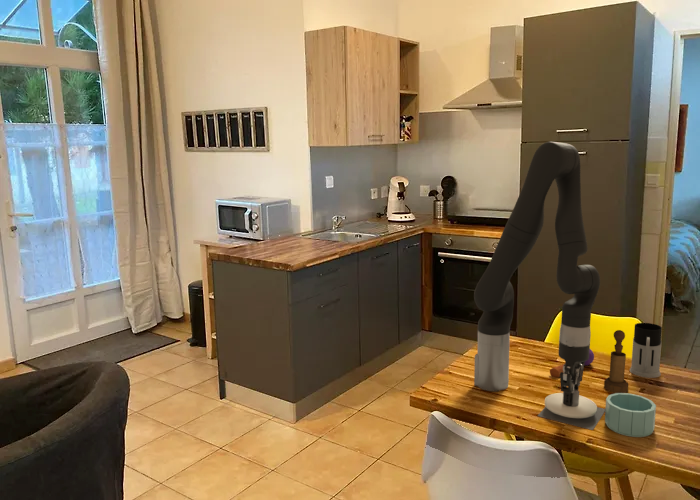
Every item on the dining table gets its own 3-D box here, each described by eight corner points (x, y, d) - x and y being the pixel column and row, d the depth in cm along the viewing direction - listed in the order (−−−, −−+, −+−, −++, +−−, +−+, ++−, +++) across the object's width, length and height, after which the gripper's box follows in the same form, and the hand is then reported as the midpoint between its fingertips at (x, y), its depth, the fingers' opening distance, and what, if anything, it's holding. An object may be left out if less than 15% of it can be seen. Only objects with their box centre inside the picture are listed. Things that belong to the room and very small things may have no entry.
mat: (537, 417, 153) (537, 415, 153) (553, 398, 164) (554, 396, 164) (592, 431, 145) (592, 430, 145) (606, 410, 156) (606, 409, 156)
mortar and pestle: (630, 395, 165) (634, 334, 162) (606, 393, 166) (610, 333, 163) (624, 385, 172) (628, 327, 168) (601, 384, 173) (604, 326, 170)
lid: (537, 409, 153) (538, 393, 152) (553, 392, 163) (554, 377, 162) (589, 423, 145) (590, 406, 144) (602, 404, 155) (603, 388, 154)
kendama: (544, 363, 181) (579, 344, 192) (547, 381, 181) (582, 361, 193) (561, 365, 176) (596, 345, 188) (564, 383, 176) (599, 362, 188)
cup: (600, 431, 145) (602, 405, 144) (610, 414, 154) (612, 389, 153) (649, 443, 139) (651, 416, 137) (657, 425, 147) (658, 399, 146)
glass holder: (660, 369, 183) (663, 323, 180) (662, 386, 171) (665, 337, 168) (629, 365, 187) (632, 320, 184) (629, 381, 174) (632, 334, 172)
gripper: (568, 330, 158) (564, 389, 162) (551, 345, 147) (547, 407, 150) (597, 335, 154) (592, 396, 157) (581, 351, 143) (577, 415, 146)
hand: (570, 401), depth 154 cm, fingers closed on lid, 4 cm apart
